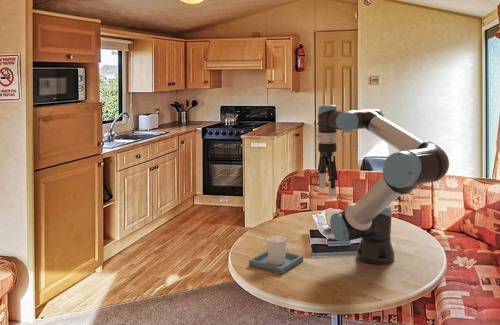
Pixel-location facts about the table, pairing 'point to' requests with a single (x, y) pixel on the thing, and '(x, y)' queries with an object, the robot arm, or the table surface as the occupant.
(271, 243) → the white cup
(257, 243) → the table surface
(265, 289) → the table surface
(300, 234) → the table surface
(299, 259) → the slate tray
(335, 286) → the table surface
